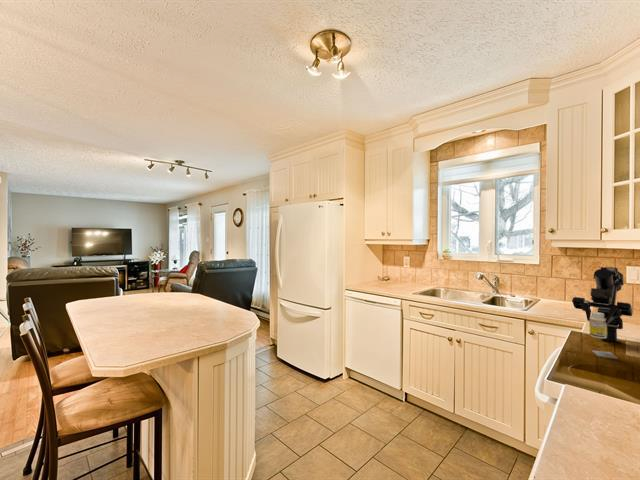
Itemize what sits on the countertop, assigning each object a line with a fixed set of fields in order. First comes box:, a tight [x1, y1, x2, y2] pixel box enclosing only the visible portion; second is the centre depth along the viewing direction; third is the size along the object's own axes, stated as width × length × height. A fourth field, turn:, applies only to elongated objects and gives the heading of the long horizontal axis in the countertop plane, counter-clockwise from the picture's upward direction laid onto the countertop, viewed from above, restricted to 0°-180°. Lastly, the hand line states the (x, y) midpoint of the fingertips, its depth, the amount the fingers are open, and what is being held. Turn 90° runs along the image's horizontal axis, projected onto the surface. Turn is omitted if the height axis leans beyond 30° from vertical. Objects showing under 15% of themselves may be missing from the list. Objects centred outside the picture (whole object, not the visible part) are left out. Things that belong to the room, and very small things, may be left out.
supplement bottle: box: [588, 311, 607, 339], centre depth 128 cm, size 6×6×10 cm
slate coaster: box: [591, 350, 619, 360], centre depth 123 cm, size 6×6×1 cm
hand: (597, 321), depth 127 cm, fingers closed on supplement bottle, 6 cm apart
